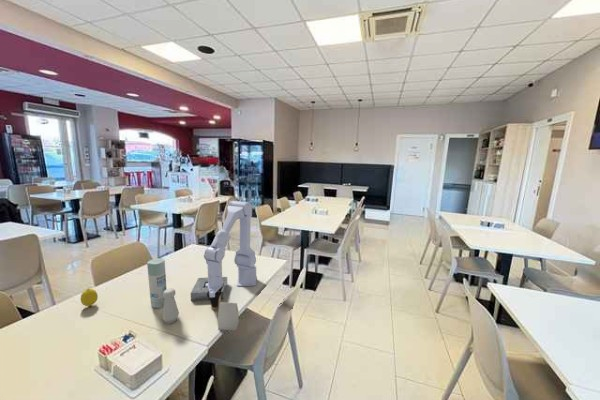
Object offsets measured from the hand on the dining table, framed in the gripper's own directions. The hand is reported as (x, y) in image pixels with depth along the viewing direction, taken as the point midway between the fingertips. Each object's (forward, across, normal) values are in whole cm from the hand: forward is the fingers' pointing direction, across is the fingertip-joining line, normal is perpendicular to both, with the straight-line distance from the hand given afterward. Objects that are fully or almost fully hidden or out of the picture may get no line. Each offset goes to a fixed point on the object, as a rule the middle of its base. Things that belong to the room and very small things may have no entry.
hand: (216, 303), depth 109 cm
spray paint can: (+2, -5, -25) cm, 26 cm away
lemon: (+2, -6, -53) cm, 53 cm away
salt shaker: (+2, +7, -16) cm, 18 cm away
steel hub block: (+2, -13, -5) cm, 14 cm away
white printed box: (+2, +13, +7) cm, 15 cm away
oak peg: (+2, 0, 0) cm, 2 cm away
